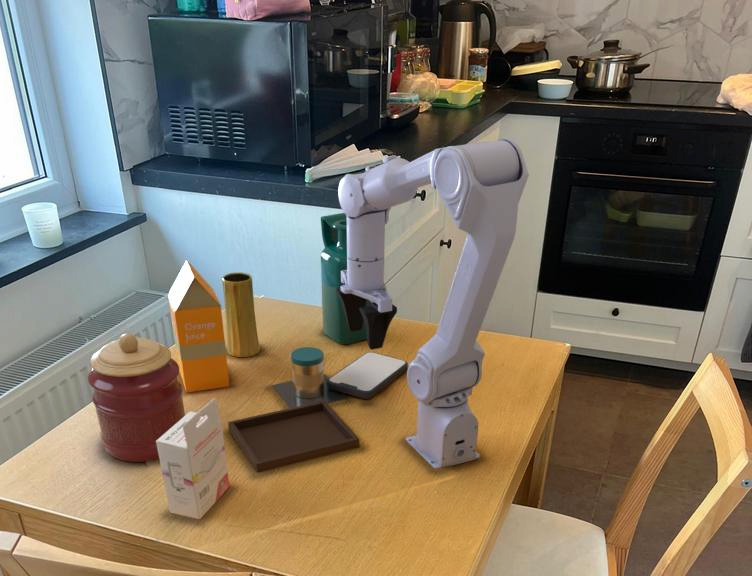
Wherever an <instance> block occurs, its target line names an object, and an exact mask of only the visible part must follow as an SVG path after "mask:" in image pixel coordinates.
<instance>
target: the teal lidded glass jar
mask: <svg viewBox="0 0 752 576" xmlns="http://www.w3.org/2000/svg"><path fill="white" fill-rule="evenodd" d="M324 358H325V357H324V351H323V350H322V349H320V348H317V347H314V346H313V347H312V346H302V347H299V348H295V349H294V350H293V351H292V352H290V361H291V373H292V374H291V375H292V381H293V391H294V394H295V395H296V396H297V397H300V398H305V399H311V398H316V397H319V396H321V395H322V394H323V393H324V374H325V371H324Z"/></svg>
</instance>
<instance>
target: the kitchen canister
mask: <svg viewBox="0 0 752 576" xmlns="http://www.w3.org/2000/svg"><path fill="white" fill-rule="evenodd" d="M89 362H90V363H89V365H90V367H91V369H90V370H89V372H88V374H87V382H88V384H89V386H90V387H92V389H93V393H92V397H91V398H92V399H91V400H92V404H93V405H94V408H95V411H96V416H97V421H98V426H99V430H100V431H99V432H100V433H99V434H100V438H101V443H102V445H103V446H104V449H105V451H106V453H107V454H109V455H110V456H111V457H113V458H115V459H117V460H120V461H124V462H131V463H132V462H133V463H143V462H145V463H146V462H147V461H152V460H157V459H159V454H158V449H157V444H156V440H158V439H159V438H160V437H161V436H162V435H163V434H165V433H166V432H167V431H168V430H169V429H170V428H172V427H173V426H174V425H175V424H176V423H177V422H178V421H180V420H181V419H182V418H183V417H184V416H185V415H186V411H185V406H184V400H183V398H184V397H183V386H182V384H181V382H180V381H179V380H178V376H179V375H180V371H179V365H178V361H176V360H175V359H174V358H172V352H171V350H170V348H168V347H167V346H166V345H164V344H162V343H160V342H157V341H155V340H153V339H151V338H150V339H149V338H145V337H137V336H135V335H134V334H132V333H124V334H122V335H121V336H120V337H119V339H117V340H113V341H111V342H109V343H107V344H105V345H104V346H102V347H101V349H99V350H98V351H97V352H94V354H93V355H92V357H90V361H89Z"/></svg>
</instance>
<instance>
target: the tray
mask: <svg viewBox="0 0 752 576" xmlns="http://www.w3.org/2000/svg"><path fill="white" fill-rule="evenodd" d="M227 424H228V431H229V432H230V434H231V436H232V437H233V439H234V440H235V442H236V443H237V445H238V446H239V447H240V449H241V451H242V452H243V454H244V455H245V457H246V458H247V460H248V461H249V463H250V464H251V466H252V467H253V469H254V471H255V472H256V473H261V472H265V471H268V470H273V469H277V468H281V467H286V466H289V465H294V464H296V463H301V462H305V461H309V460H313V459H317V458H320V457H325V456H329V455H333V454H336V453H341V452H344V451H348V450H352V449H353V450H354V449H357V448H360V437H358V435H356V434H355V432H354V431H353V430H352V429H351V428H350V427H349V425H348V424H347V423H346V422H345V421H344V420H343V419H342V418H341V416H339V415H338V414H337V412H335V410H334V409H333V408H332V407H331V406H330V405H329V403H326V402H325V401H320V402H316V403H311V404H307V405H302V406H298V407H293V408H289V407H288V408H284V409H281V410H280V409H279V410H276V411H271V412H267V413H262V414H258V415H253V416H249V417H245V418H240V419H236V420H231V421H228V422H227Z"/></svg>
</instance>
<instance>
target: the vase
mask: <svg viewBox="0 0 752 576" xmlns="http://www.w3.org/2000/svg"><path fill="white" fill-rule="evenodd" d="M221 281H222V291H223V300H224V302H223V303H224V314H225V315H224V316H225V326H226V327H225V329H226V337H227V338H226V339H227V340H226V341H227V353H228V355H230V356H232V357H235V358H249V357H254V356H255V355H257V354H258V353H259V352H260V351H261V346H260V341H259V336H258V335H259V334H258V329H257V321H256V313H255V312H256V311H255V299H254V297H255V296H254V289H253V288H254V287H253V286H254V285H253V276H252V275H251V274H249V273H246V272H240V271H239V272H236V271H235V272H229V273H226V274H224V275H223V276H222V279H221Z"/></svg>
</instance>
